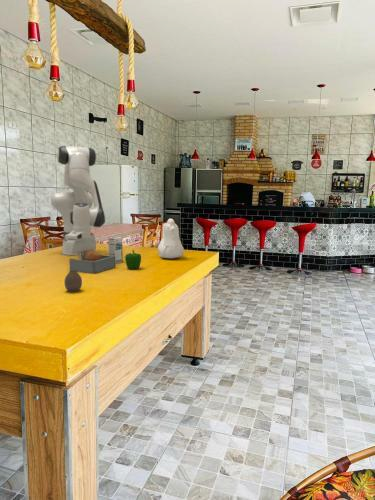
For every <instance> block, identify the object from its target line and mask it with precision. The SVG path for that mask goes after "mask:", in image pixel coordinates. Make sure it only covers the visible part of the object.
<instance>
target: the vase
mask: <svg viewBox="0 0 375 500" xmlns="http://www.w3.org/2000/svg"><path fill="white" fill-rule="evenodd" d="M82 285H83V280H82V276H81V275H80V274H79V272H77V271H76V270H75V269H71V270H70V269H69V271H68V273H67V274H66V275H65V278H64V287H65V289H66V290H67V291H68V292H70V293H75V292H79V291H80V290H81V288H82Z"/></svg>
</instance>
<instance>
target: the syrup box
mask: <svg viewBox="0 0 375 500" xmlns="http://www.w3.org/2000/svg"><path fill="white" fill-rule="evenodd" d="M107 239H108V243H107V244H108V246H107V247H108V256H115V264H119V263H122V262H124V261H123V260H124V259H123V257H124V256H123V253H124V252H123V237H121V236H111V237H108V238H107Z"/></svg>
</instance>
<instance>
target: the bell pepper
mask: <svg viewBox="0 0 375 500" xmlns="http://www.w3.org/2000/svg"><path fill="white" fill-rule="evenodd" d="M131 251H132V253H131V252H130V253H127V254H125V259H124V260H125V264H126V267H127V269H129V270H138V269H140V266H141V263H142V255H141V253H136V252H135V249H132V250H131Z"/></svg>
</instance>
